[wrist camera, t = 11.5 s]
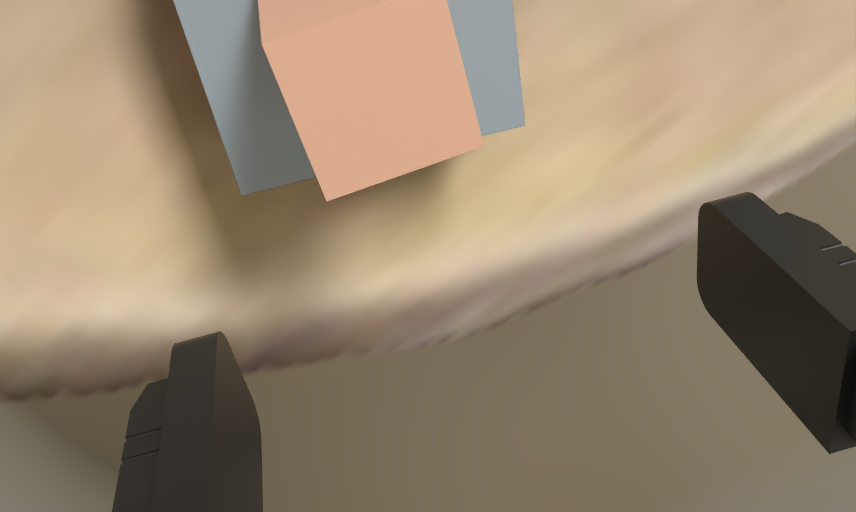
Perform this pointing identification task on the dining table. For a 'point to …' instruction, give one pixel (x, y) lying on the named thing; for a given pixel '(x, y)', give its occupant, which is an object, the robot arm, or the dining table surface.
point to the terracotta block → (370, 86)
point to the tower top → (265, 105)
